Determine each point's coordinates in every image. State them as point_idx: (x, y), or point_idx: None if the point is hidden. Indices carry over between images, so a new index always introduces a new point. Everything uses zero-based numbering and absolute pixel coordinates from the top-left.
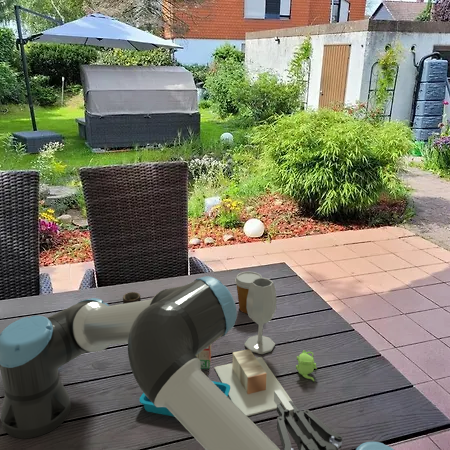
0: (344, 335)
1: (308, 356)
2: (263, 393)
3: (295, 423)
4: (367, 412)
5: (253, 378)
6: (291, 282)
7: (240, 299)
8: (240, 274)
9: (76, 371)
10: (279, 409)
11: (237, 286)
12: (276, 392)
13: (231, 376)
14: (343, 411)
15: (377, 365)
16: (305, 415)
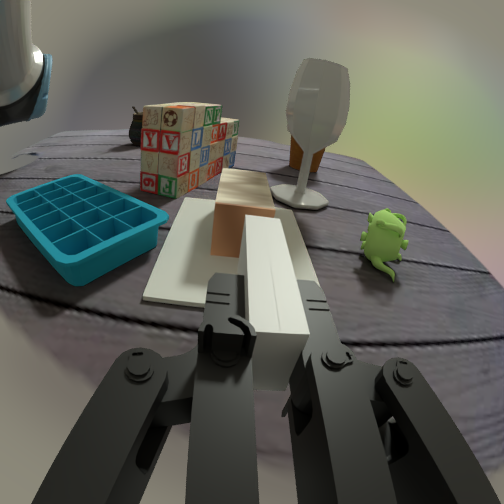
0: (442, 233)
1: (396, 218)
2: None
3: (252, 481)
4: (496, 377)
5: (232, 211)
6: (371, 171)
7: (292, 145)
8: None
9: (28, 170)
10: (207, 303)
11: None
12: (251, 222)
13: (203, 216)
14: (453, 368)
15: (494, 287)
16: (381, 404)
